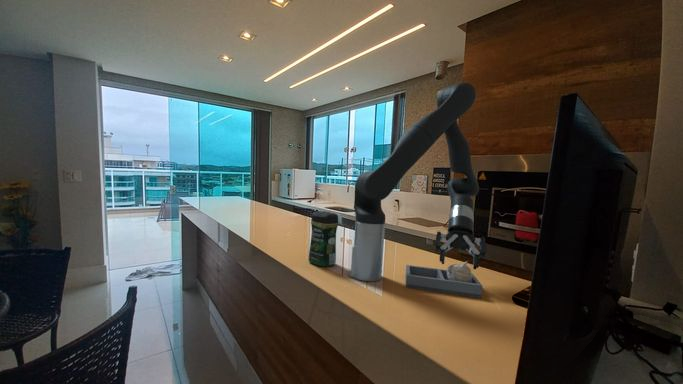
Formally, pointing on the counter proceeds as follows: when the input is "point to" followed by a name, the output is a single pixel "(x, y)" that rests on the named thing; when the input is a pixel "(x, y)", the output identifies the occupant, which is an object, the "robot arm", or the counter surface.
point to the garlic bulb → (459, 272)
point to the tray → (440, 282)
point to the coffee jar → (323, 238)
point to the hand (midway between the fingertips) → (458, 265)
